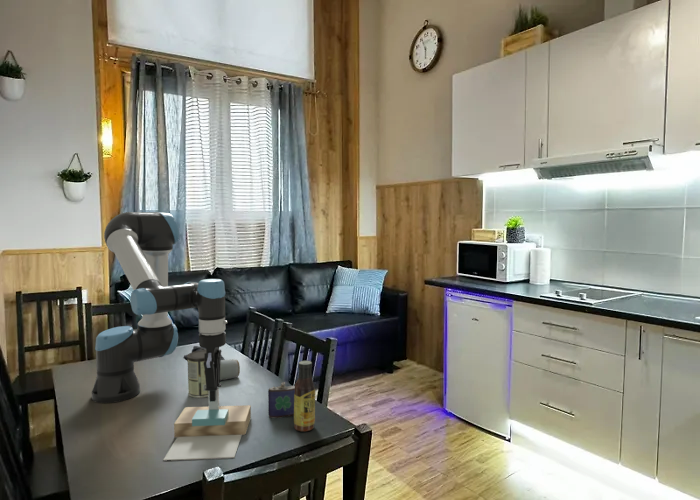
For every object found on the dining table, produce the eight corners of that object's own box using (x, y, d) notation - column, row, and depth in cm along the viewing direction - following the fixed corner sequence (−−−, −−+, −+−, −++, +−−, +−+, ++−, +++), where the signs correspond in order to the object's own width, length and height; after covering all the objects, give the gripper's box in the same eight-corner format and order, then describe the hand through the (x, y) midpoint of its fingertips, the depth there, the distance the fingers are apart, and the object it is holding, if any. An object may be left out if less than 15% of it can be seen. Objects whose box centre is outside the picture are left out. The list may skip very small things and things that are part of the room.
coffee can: (202, 385, 166) (201, 348, 165) (224, 389, 162) (223, 351, 161) (181, 395, 157) (180, 356, 156) (203, 400, 152) (202, 360, 151)
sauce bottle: (306, 434, 128) (306, 367, 127) (289, 429, 131) (289, 363, 130) (319, 426, 134) (319, 361, 132) (303, 420, 137) (302, 358, 135)
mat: (163, 460, 114) (163, 459, 114) (177, 437, 126) (177, 436, 126) (234, 457, 116) (234, 456, 115) (241, 435, 127) (241, 434, 127)
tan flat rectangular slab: (174, 437, 126) (174, 423, 126) (185, 419, 137) (185, 407, 137) (245, 434, 128) (245, 421, 128) (250, 417, 139) (250, 405, 139)
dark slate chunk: (193, 371, 183) (193, 359, 182) (182, 357, 201) (182, 346, 201) (230, 364, 191) (230, 354, 190) (216, 351, 209) (216, 342, 209)
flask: (297, 412, 143) (296, 379, 142) (298, 415, 140) (297, 383, 140) (268, 414, 141) (267, 382, 140) (268, 418, 138) (268, 385, 137)
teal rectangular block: (192, 426, 125) (191, 419, 124) (197, 416, 130) (197, 410, 130) (224, 425, 125) (224, 418, 125) (228, 415, 131) (228, 409, 131)
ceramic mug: (240, 379, 172) (240, 360, 171) (219, 383, 168) (219, 363, 167) (233, 371, 181) (233, 353, 181) (213, 375, 177) (212, 356, 177)
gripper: (220, 337, 124) (222, 419, 125) (229, 326, 137) (230, 400, 138) (193, 338, 123) (195, 420, 125) (204, 327, 136) (206, 401, 138)
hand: (213, 410), depth 132 cm, fingers closed
